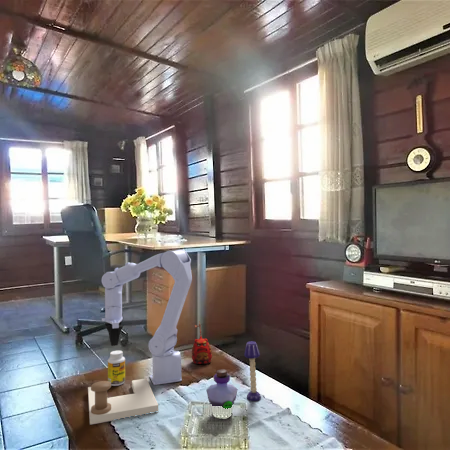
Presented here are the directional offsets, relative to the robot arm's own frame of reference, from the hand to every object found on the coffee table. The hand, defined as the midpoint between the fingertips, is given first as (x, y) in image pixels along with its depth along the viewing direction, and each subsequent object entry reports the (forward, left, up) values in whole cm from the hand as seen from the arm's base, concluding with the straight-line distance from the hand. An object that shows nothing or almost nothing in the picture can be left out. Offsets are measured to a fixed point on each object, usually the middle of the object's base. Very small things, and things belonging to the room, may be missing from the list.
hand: (114, 343), depth 135 cm
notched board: (0, +24, -10) cm, 26 cm away
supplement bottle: (0, +9, -11) cm, 14 cm away
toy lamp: (-37, +36, -11) cm, 53 cm away
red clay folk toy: (-32, +1, -11) cm, 34 cm away
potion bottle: (-25, +42, -11) cm, 50 cm away
